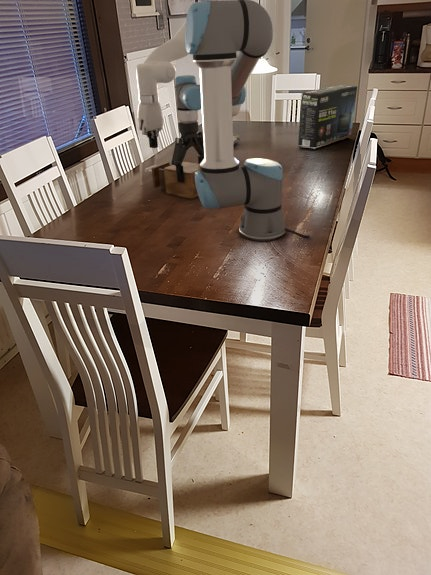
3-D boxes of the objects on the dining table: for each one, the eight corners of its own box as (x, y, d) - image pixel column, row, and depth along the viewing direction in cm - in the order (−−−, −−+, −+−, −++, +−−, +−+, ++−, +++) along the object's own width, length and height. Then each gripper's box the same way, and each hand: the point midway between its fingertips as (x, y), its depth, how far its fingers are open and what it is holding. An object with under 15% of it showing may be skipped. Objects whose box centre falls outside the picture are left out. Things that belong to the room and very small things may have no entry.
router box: (314, 151, 231) (318, 94, 217) (296, 148, 237) (299, 92, 224) (352, 138, 251) (358, 85, 238) (335, 135, 258) (340, 83, 245)
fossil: (229, 142, 236) (210, 124, 240) (219, 159, 243) (200, 141, 246) (247, 141, 250) (228, 123, 253) (236, 157, 257) (218, 140, 260)
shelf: (142, 185, 192) (140, 165, 188) (158, 178, 199) (156, 159, 195) (175, 192, 183) (174, 172, 179) (191, 185, 190) (189, 165, 186)
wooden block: (166, 193, 186) (163, 168, 180) (183, 185, 193) (181, 161, 188) (192, 198, 179) (190, 173, 173) (208, 190, 186) (207, 165, 181)
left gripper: (154, 95, 183) (159, 142, 193) (128, 101, 173) (134, 150, 183) (168, 96, 180) (172, 144, 189) (142, 103, 169) (148, 153, 179)
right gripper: (200, 114, 181) (202, 168, 192) (158, 126, 164) (163, 184, 174) (215, 116, 177) (217, 170, 188) (174, 128, 160) (179, 187, 171)
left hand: (153, 147), depth 186 cm, fingers closed
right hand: (191, 177), depth 181 cm, fingers open, 13 cm apart
